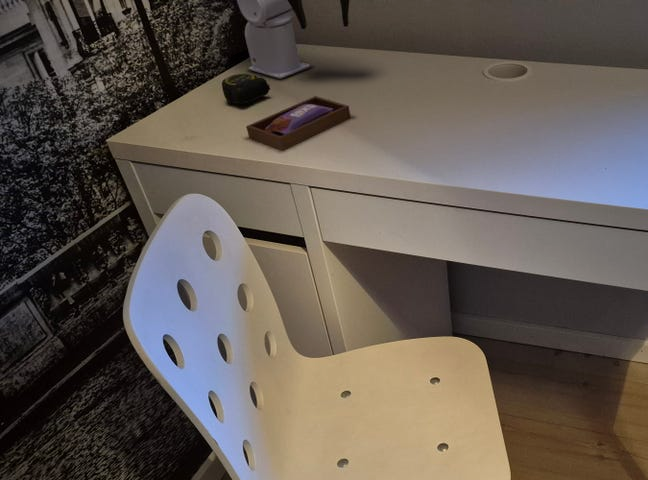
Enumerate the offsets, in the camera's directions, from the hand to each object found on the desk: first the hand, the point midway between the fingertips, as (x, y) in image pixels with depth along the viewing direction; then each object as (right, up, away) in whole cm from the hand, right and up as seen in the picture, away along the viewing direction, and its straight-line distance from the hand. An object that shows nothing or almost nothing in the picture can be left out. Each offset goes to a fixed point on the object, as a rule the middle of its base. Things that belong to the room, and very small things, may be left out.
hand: (325, 26), depth 121 cm
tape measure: (-14, -14, 0) cm, 19 cm away
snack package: (-2, -22, -10) cm, 24 cm away
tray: (-2, -22, -10) cm, 24 cm away
